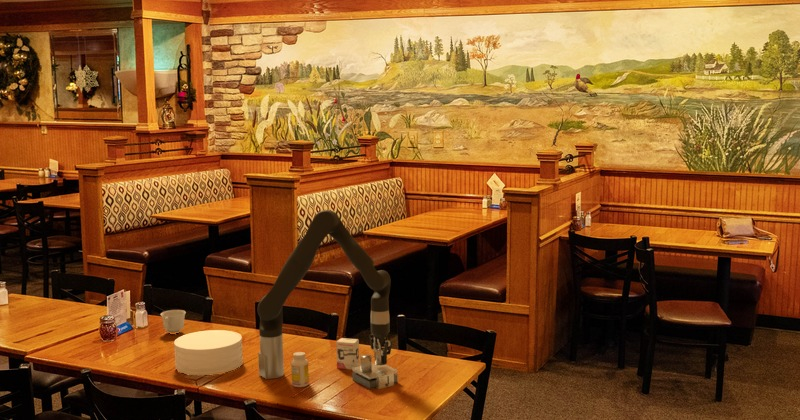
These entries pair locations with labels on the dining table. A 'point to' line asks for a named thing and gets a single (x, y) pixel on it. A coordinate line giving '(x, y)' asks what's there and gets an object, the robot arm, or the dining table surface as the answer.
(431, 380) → the dining table surface
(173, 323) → the teacup
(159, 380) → the dining table surface
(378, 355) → the cylinder
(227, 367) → the plate stack
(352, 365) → the ink box
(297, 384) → the supplement bottle
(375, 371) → the pan
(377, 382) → the scale base
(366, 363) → the cylinder
